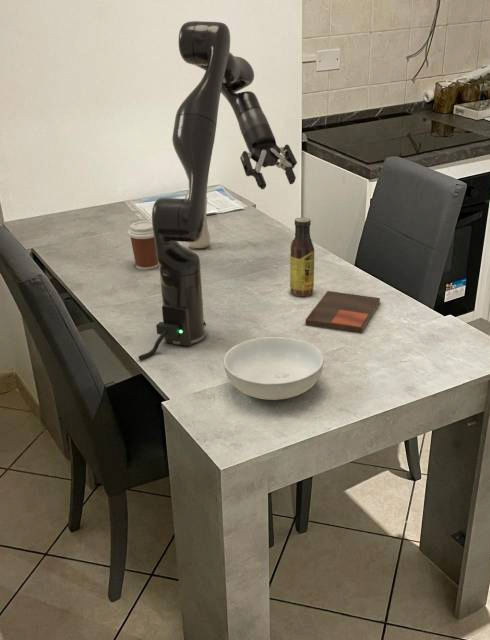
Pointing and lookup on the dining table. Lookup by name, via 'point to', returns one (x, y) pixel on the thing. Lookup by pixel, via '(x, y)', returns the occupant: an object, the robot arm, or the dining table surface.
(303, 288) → the sauce bottle
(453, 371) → the dining table surface
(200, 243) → the plastic bottle
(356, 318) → the walnut board
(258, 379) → the serving bowl
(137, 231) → the coffee cup
